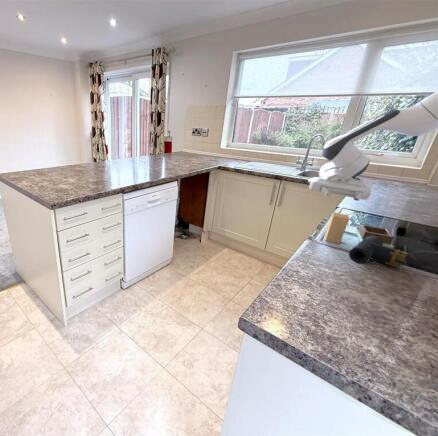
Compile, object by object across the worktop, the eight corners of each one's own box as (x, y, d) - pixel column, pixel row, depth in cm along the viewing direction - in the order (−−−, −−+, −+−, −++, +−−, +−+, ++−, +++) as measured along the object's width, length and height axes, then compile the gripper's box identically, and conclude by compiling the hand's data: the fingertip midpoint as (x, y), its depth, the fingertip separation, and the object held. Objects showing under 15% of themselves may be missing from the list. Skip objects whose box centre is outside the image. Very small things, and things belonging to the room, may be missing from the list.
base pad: (354, 231, 100) (358, 222, 98) (383, 236, 96) (387, 227, 94) (360, 243, 90) (364, 233, 89) (392, 249, 86) (397, 239, 85)
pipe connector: (412, 246, 78) (400, 260, 69) (405, 260, 80) (393, 276, 71) (366, 233, 86) (351, 244, 78) (361, 246, 88) (346, 259, 80)
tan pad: (324, 236, 95) (332, 212, 91) (338, 239, 93) (347, 214, 89) (325, 240, 91) (333, 216, 88) (339, 243, 89) (349, 218, 85)
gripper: (310, 171, 106) (314, 183, 95) (367, 180, 99) (379, 194, 88) (305, 185, 109) (308, 198, 98) (360, 194, 103) (370, 209, 92)
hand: (342, 196), depth 93 cm, fingers open, 8 cm apart
